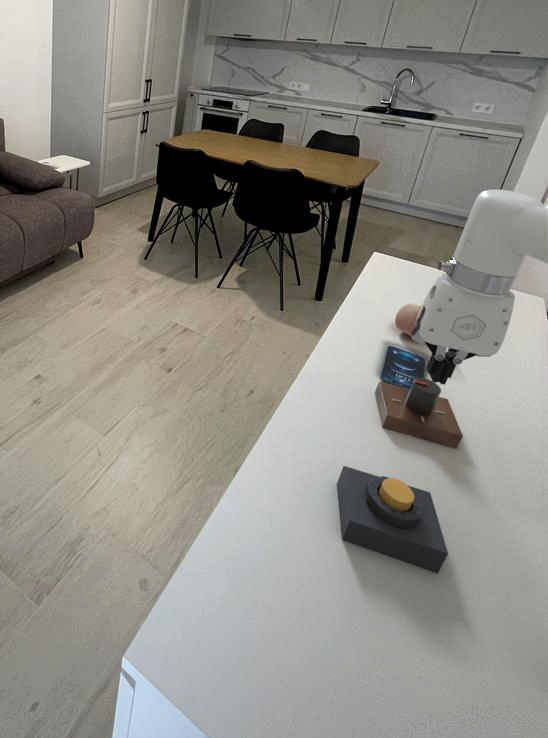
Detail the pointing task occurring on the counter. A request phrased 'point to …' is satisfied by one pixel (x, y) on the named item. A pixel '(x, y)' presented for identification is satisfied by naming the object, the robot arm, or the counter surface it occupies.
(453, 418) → the dial panel
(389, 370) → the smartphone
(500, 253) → the robot arm
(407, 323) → the apple
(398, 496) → the yellow button cap
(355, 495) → the button base
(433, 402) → the dial
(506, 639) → the counter surface
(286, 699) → the counter surface
